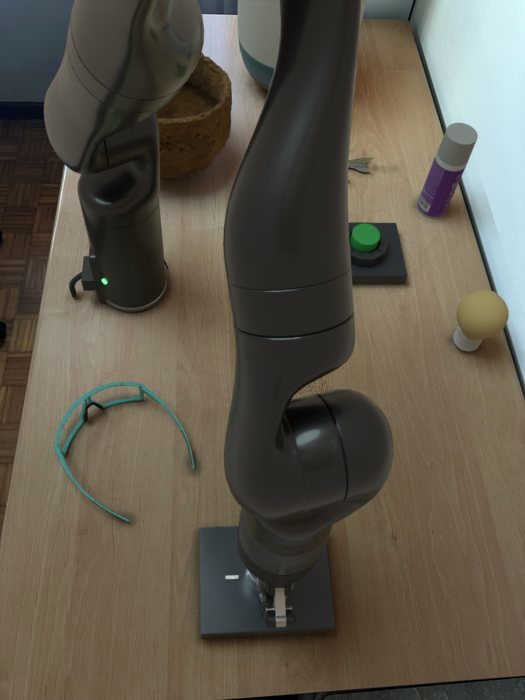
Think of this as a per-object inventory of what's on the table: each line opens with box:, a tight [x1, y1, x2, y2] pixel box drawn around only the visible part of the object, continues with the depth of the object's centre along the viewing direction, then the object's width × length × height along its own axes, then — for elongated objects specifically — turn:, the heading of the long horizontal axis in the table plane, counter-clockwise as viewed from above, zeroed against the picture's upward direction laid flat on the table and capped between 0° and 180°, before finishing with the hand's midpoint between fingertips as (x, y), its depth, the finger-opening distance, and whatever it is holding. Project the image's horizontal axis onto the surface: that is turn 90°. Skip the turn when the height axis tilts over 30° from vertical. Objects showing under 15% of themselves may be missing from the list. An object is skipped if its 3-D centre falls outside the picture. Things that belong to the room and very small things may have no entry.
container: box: [416, 122, 479, 220], centre depth 99 cm, size 5×5×15 cm
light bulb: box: [452, 289, 510, 353], centre depth 88 cm, size 6×6×10 cm
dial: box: [245, 568, 260, 596], centre depth 69 cm, size 4×4×5 cm
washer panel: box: [199, 525, 336, 639], centre depth 73 cm, size 14×11×3 cm
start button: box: [350, 223, 380, 253], centre depth 95 cm, size 4×4×2 cm
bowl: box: [157, 51, 233, 180], centre depth 100 cm, size 19×19×15 cm
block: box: [348, 221, 408, 286], centre depth 97 cm, size 12×10×4 cm
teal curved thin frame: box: [54, 381, 196, 523], centre depth 79 cm, size 14×15×5 cm
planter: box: [237, 0, 367, 91], centre depth 110 cm, size 20×20×21 cm
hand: (268, 573), depth 70 cm, fingers closed on dial, 4 cm apart
